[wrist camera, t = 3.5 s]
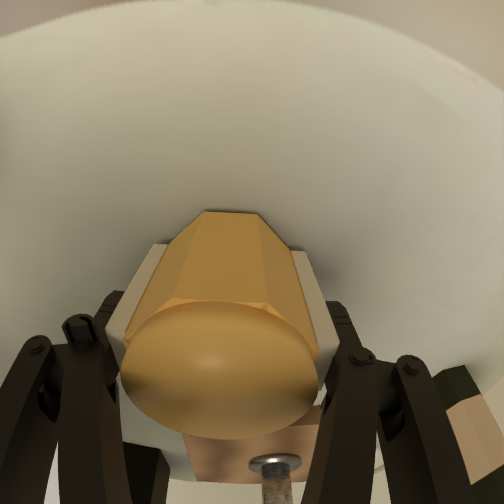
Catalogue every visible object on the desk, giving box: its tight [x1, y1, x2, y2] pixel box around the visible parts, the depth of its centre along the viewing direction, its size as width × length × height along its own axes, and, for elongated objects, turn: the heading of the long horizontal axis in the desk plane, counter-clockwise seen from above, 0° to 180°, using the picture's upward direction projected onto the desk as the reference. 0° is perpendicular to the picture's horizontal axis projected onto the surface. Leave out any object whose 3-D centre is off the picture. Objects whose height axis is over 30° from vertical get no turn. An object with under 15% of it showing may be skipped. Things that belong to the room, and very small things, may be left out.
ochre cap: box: [120, 212, 320, 440], centre depth 12 cm, size 6×6×8 cm
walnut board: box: [183, 406, 322, 484], centre depth 25 cm, size 18×18×2 cm
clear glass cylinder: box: [249, 453, 302, 504], centre depth 20 cm, size 6×6×10 cm
